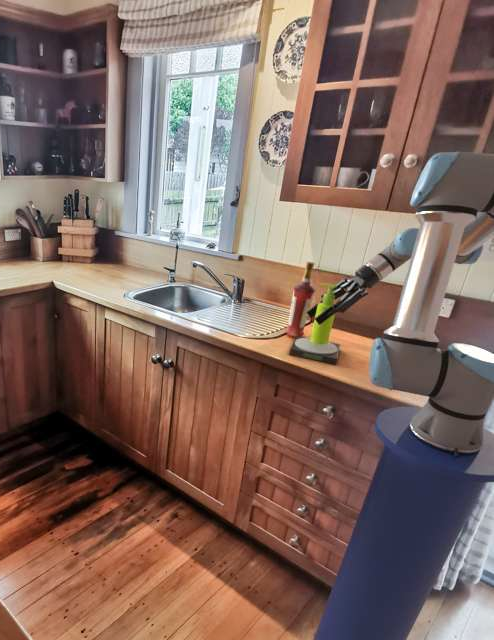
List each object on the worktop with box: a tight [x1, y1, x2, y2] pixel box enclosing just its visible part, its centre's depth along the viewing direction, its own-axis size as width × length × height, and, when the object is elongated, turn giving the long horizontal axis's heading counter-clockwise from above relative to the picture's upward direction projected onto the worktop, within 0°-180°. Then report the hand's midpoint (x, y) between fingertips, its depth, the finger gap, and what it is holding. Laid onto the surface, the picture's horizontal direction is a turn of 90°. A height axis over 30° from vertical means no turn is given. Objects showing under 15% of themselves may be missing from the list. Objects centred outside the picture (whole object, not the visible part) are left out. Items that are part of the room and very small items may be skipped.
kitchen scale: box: [288, 335, 341, 365], centre depth 163 cm, size 15×15×3 cm
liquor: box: [284, 261, 316, 339], centre depth 172 cm, size 7×7×28 cm
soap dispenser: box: [309, 282, 337, 344], centre depth 158 cm, size 6×7×20 cm
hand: (312, 318), depth 158 cm, fingers closed on soap dispenser, 6 cm apart
